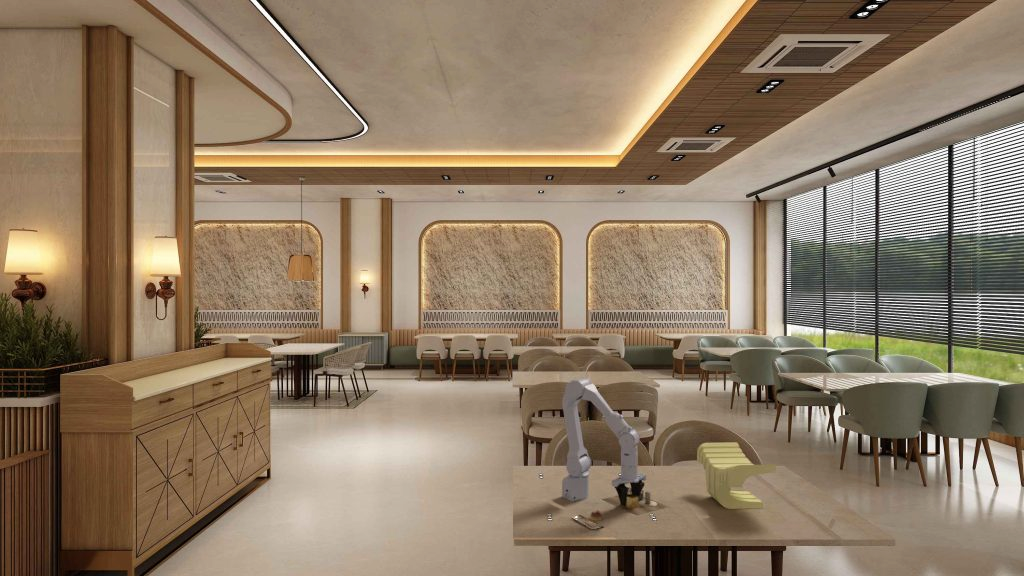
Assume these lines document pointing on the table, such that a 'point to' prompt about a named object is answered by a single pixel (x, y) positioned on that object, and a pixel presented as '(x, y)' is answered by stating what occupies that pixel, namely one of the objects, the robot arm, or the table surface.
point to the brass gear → (631, 501)
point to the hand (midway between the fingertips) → (629, 503)
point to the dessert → (591, 517)
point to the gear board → (643, 503)
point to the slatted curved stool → (729, 474)
